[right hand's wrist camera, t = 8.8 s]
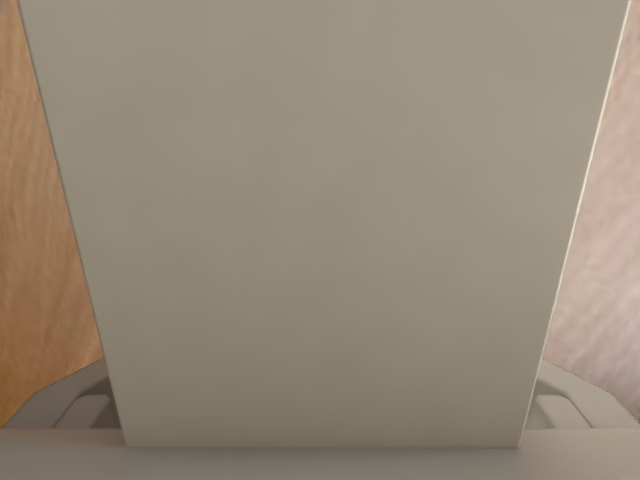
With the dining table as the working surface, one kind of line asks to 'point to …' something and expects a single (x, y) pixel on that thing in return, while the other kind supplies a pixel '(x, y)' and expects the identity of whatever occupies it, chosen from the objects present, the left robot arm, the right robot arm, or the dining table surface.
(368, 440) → the bar
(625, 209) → the dining table surface
